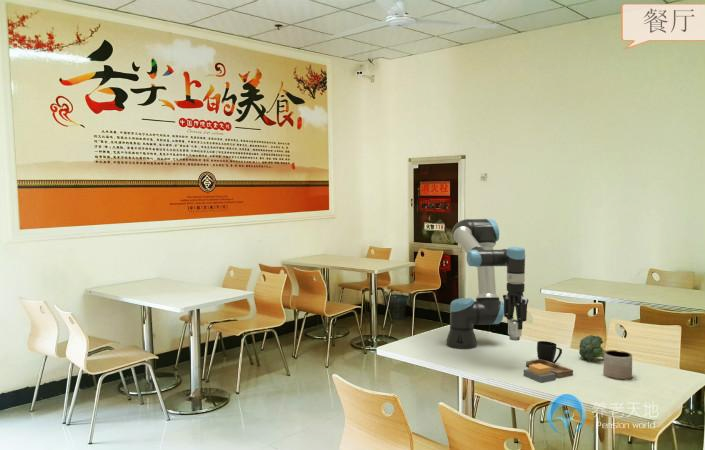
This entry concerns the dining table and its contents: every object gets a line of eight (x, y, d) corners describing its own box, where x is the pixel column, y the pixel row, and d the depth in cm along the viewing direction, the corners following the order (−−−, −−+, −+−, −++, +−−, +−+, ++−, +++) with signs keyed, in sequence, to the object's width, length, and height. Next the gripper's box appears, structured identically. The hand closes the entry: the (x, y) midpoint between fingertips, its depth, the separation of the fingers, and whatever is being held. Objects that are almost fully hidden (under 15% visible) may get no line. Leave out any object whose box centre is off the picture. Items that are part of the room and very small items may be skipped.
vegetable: (618, 361, 245) (588, 346, 245) (600, 374, 254) (571, 359, 254) (618, 340, 254) (588, 325, 254) (601, 353, 263) (572, 339, 263)
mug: (553, 369, 241) (554, 348, 240) (532, 362, 251) (533, 341, 251) (565, 368, 245) (567, 346, 244) (544, 360, 255) (546, 340, 255)
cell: (507, 338, 243) (507, 319, 242) (514, 337, 245) (515, 318, 244) (514, 341, 239) (514, 321, 238) (521, 339, 241) (522, 320, 240)
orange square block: (528, 372, 231) (528, 365, 230) (539, 370, 233) (539, 363, 233) (539, 376, 225) (539, 369, 225) (550, 374, 228) (550, 367, 228)
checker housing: (523, 375, 232) (523, 369, 232) (537, 372, 235) (537, 367, 235) (541, 382, 223) (541, 376, 223) (555, 379, 227) (555, 373, 226)
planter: (597, 373, 234) (598, 351, 234) (616, 370, 239) (616, 348, 238) (618, 381, 224) (619, 358, 224) (637, 378, 229) (638, 355, 228)
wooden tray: (525, 366, 244) (526, 361, 244) (541, 363, 248) (541, 358, 248) (557, 378, 228) (557, 373, 228) (572, 375, 232) (573, 370, 232)
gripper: (495, 280, 246) (494, 331, 248) (523, 286, 231) (522, 340, 233) (508, 279, 250) (507, 330, 251) (536, 284, 235) (535, 338, 236)
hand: (514, 335), depth 242 cm, fingers closed on cell, 4 cm apart
